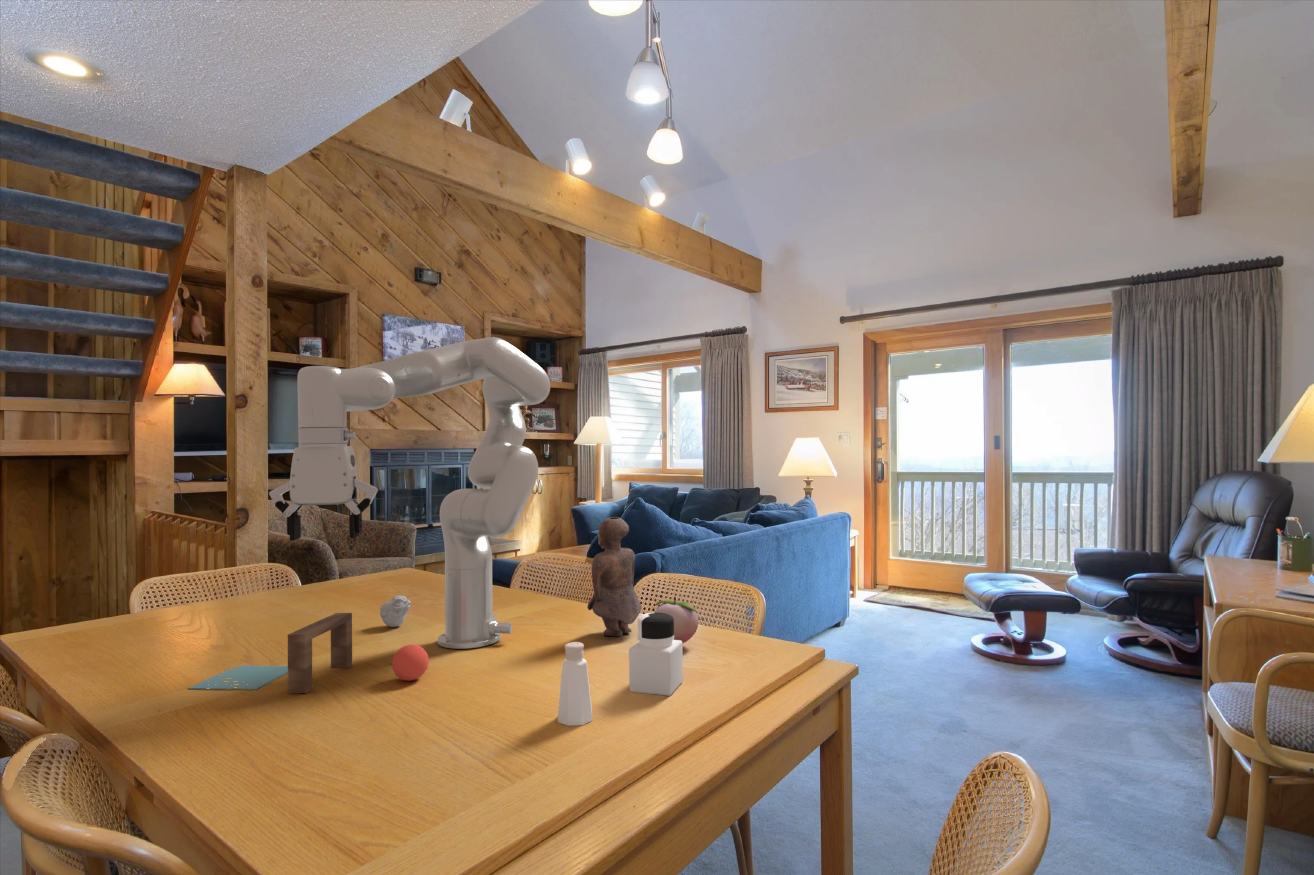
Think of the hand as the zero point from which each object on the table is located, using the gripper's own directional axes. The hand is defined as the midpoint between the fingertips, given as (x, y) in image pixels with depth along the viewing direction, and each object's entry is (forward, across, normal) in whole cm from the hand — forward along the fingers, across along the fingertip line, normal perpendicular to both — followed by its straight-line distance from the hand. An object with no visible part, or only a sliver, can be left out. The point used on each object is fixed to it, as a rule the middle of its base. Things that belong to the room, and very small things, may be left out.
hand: (325, 538), depth 119 cm
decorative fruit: (+26, -62, -11) cm, 68 cm away
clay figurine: (+26, -51, -22) cm, 62 cm away
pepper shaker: (+25, -42, +23) cm, 54 cm away
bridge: (+25, +2, -3) cm, 25 cm away
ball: (+22, -14, 0) cm, 26 cm away
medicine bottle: (+26, -55, +11) cm, 62 cm away
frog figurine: (+26, -2, -38) cm, 46 cm away
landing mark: (+25, +16, -6) cm, 30 cm away
